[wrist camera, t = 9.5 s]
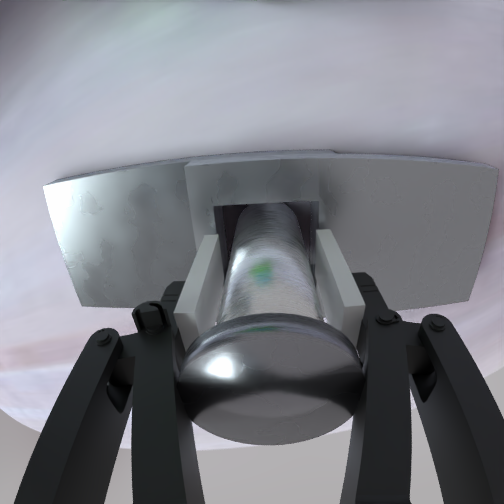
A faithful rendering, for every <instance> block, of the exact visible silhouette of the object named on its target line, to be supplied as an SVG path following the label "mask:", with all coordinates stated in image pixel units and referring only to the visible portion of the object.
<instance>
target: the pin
mask: <svg viewBox="0 0 504 504" xmlns="http://www.w3.org/2000/svg"><path fill="white" fill-rule="evenodd" d="M364 384H365V377H364V373H363V370H362V366H361V363H360V360H359V356H358V353H357V351H356V349H355V347H354V345H353V343H352V342H351V341H350V340H349V338H348V337H347V336H346V335H344V334H343V333H342V332H341V331H339V330H338V329H336V328H335V327H333V326H331V325H329V324H327V323H325V322H324V320H323V315H322V311H321V307H320V303H319V299H318V295H317V291H316V287H315V283H314V279H313V275H312V271H311V267H310V264H309V260H308V256H307V252H306V249H305V245H304V241H303V238H302V234H301V230H300V227H299V223H298V220H297V217H296V215H295V213H294V212H293V211H292V210H291V209H290V208H289V207H288V206H287V205H285V204H284V203H282V202H276V203H256V204H250V205H249V206H247V207H246V208H245V209H244V210H243V211H242V213H241V214H240V216H239V218H238V221H237V225H236V230H235V235H234V240H233V245H232V249H231V254H230V259H229V264H228V269H227V274H226V279H225V284H224V289H223V294H222V299H221V304H220V309H219V314H218V319H217V325H215V326H213V327H212V328H210V329H208V330H206V331H205V332H204V333H202V334H201V335H200V336H198V337H197V338H196V339H195V340H194V341H193V343H192V344H191V345H190V346H189V348H188V350H187V351H186V354H185V356H184V359H183V362H182V366H181V370H180V374H179V377H178V381H177V386H176V387H177V390H178V392H179V395H180V397H181V399H182V402H183V404H184V406H185V409H186V411H187V413H188V416H189V418H190V420H191V421H192V422H194V423H195V424H196V425H198V426H199V427H201V428H202V429H204V430H206V431H208V432H210V433H212V434H214V435H216V436H219V437H222V438H224V439H228V440H231V441H235V442H240V443H246V444H253V445H283V444H291V443H297V442H301V441H306V440H310V439H313V438H316V437H319V436H321V435H324V434H326V433H328V432H330V431H332V430H334V429H336V428H338V427H339V426H341V425H342V424H344V423H345V422H346V421H347V420H349V419H350V418H351V417H352V416H353V415H354V414H355V411H356V408H357V405H358V402H359V400H360V397H361V394H362V390H363V387H364Z"/></svg>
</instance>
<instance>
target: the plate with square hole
mask: <svg viewBox="0 0 504 504" xmlns="http://www.w3.org/2000/svg"><path fill="white" fill-rule="evenodd" d="M498 171H499V169H497V168H495V167H492V166H490V165H488V164H485V163H477V162H470V161H461V160H452V159H442V158H431V157H418V156H402V155H382V154H336V153H335V152H333V151H332V150H282V151H261V152H244V153H231V154H219V155H208V156H198V157H189V158H180V159H172V160H165V161H157V162H150V163H143V164H137V165H131V166H125V167H119V168H113V169H107V170H102V171H97V172H92V173H87V174H82V175H77V176H72V177H68V178H63V179H59V180H55V181H53V182H51V183H49V184H47V185H45V186H43V188H44V192H45V196H46V200H47V204H48V208H49V212H50V216H51V219H52V223H53V226H54V230H55V233H56V236H57V239H58V243H59V246H60V249H61V252H62V255H63V258H64V261H65V264H66V266H67V269H68V272H69V275H70V277H71V280H72V283H73V285H74V288H75V290H76V293H77V295H78V298H79V300H80V303H81V305H82V306H85V307H112V308H136V307H137V306H138V305H140V304H142V303H144V302H147V301H160V300H161V298H162V296H163V293H164V291H165V289H166V287H167V286H169V285H170V284H171V283H172V282H173V281H186V279H187V277H188V274H189V272H190V269H191V267H192V264H193V262H194V259H195V257H196V255H197V252H198V250H199V247H200V245H201V242H202V240H203V238H204V235H216V234H219V242H220V250H221V257H222V265H223V272H224V282H223V287H222V292H221V297H220V302H219V307H218V312H217V317H216V322H217V319H218V314H219V309H220V304H221V299H222V294H223V289H224V284H225V279H226V274H227V269H228V264H229V261H228V252H227V244H226V235H225V227H224V218H223V209H222V206H223V205H238V204H256V203H276V202H300V201H311V232H310V267H311V271H312V275H313V279H314V283H315V287H316V291H317V295H318V299H319V303H320V307H321V311H322V315H323V318H325V317H326V315H325V311H324V307H323V303H322V299H321V295H320V292H319V288H318V284H317V280H316V277H315V257H316V230H321V229H330V230H331V232H332V234H333V236H334V238H335V240H336V242H337V244H338V246H339V248H340V250H341V252H342V254H343V256H344V259H345V261H346V263H347V265H348V267H349V269H350V271H351V273H356V272H365V273H367V274H368V275H369V276H371V277H372V278H373V280H374V282H375V284H376V286H377V287H378V289H379V291H380V293H381V295H382V297H383V299H384V301H385V303H386V305H387V307H388V309H391V310H393V311H400V310H408V309H416V308H424V307H431V306H438V305H445V304H452V303H458V302H465V301H468V300H469V297H470V294H471V291H472V288H473V285H474V282H475V279H476V276H477V273H478V269H479V266H480V262H481V259H482V255H483V251H484V247H485V243H486V239H487V235H488V230H489V226H490V221H491V216H492V211H493V205H494V199H495V193H496V186H497V179H498Z"/></svg>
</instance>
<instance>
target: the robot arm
mask: <svg viewBox="0 0 504 504" xmlns="http://www.w3.org/2000/svg"><path fill="white" fill-rule="evenodd" d="M315 277H316V280H317V284H318V288H319V292H320V295H321V299H322V303H323V307H324V311H325V315H326V319H327V323H328V324H329V325H331V326H333V327H335V328H336V329H338V330H339V331H341V332H342V333H343V334H344V335H346V336H347V337H348V338H349V340H350V341H351V342H352V343H353V345H354V347H355V349H356V351H358V354H359V360H360V363H361V366H362V370H363V373H364V377H365V384H364V387H363V390H362V394H361V397H360V400H359V402H358V405H357V408H356V411H355V414H354V415H353V423H352V431H351V439H350V446H349V453H348V460H347V466H346V473H345V478H344V483H343V489H342V494H341V499H340V504H411V502H410V481H411V454H412V434H411V433H412V431H411V401H410V389H411V392H412V394H413V397H414V400H415V403H416V406H417V409H418V412H419V415H420V418H421V421H422V424H423V427H424V431H425V434H426V437H427V440H428V443H429V447H430V451H431V454H432V458H433V461H434V465H435V469H436V472H437V476H438V480H439V484H440V488H441V492H442V497H443V501H444V504H504V419H503V416H502V414H501V412H500V410H499V408H498V406H497V404H496V402H495V400H494V398H493V396H492V394H491V392H490V390H489V388H488V386H487V384H486V382H485V380H484V378H483V376H482V374H481V372H480V370H479V369H478V367H477V365H476V363H475V361H474V360H473V358H472V356H471V354H470V353H469V351H468V349H467V348H466V346H465V344H464V342H463V341H462V339H461V337H460V336H459V334H458V333H457V331H456V329H455V328H454V326H453V324H452V323H451V322H450V321H449V320H448V319H447V318H446V317H444V316H442V315H439V314H429V315H426V316H425V317H424V318H423V319H422V323H412V322H406V321H402V319H401V316H400V315H399V314H398V313H397V312H395V311H393V310H391V309H388V307H387V305H386V303H385V301H384V299H383V297H382V295H381V293H380V291H379V289H378V287H377V286H376V284H375V282H374V280H373V278H372V277H371V276H369V275H368V274H367V273H365V272H356V273H351V271H350V269H349V267H348V265H347V263H346V261H345V259H344V256H343V254H342V252H341V250H340V248H339V246H338V244H337V242H336V240H335V238H334V236H333V234H332V232H331V230H330V229H321V230H316V257H315ZM223 282H224V272H223V265H222V257H221V250H220V242H219V234H216V235H204V238H203V240H202V242H201V245H200V247H199V250H198V252H197V255H196V257H195V259H194V262H193V264H192V267H191V269H190V272H189V274H188V277H187V279H186V281H173V282H172V283H171V284H170V285H169V286H167V287H166V289H165V291H164V293H163V296H162V298H161V300H160V301H147V302H144V303H142V304H140V305H138V306H137V307H136V308H135V309H134V310H133V312H132V317H133V319H134V322H135V325H136V327H137V330H138V333H134V334H130V335H125V336H119V334H118V332H117V331H116V330H115V329H112V328H104V329H101V330H98V331H97V332H95V333H94V334H93V335H92V336H91V337H90V338H89V340H88V342H87V343H86V345H85V347H84V349H83V351H82V352H81V354H80V356H79V358H78V360H77V362H76V363H75V365H74V367H73V369H72V371H71V373H70V375H69V377H68V378H67V380H66V382H65V384H64V386H63V388H62V390H61V392H60V394H59V396H58V398H57V400H56V402H55V404H54V406H53V409H52V411H51V413H50V415H49V417H48V419H47V421H46V423H45V426H44V428H43V430H42V432H41V435H40V437H39V439H38V441H37V444H36V446H35V449H34V451H33V453H32V456H31V458H30V461H29V463H28V466H27V468H26V471H25V474H24V476H23V479H22V482H21V484H20V487H19V490H18V493H17V496H16V499H15V502H14V504H104V502H105V498H106V494H107V490H108V486H109V483H110V479H111V475H112V472H113V468H114V464H115V461H116V457H117V454H118V450H119V447H120V444H121V440H122V437H123V434H124V430H125V427H126V424H127V421H128V417H129V414H130V411H131V408H132V438H131V451H132V452H131V453H132V454H131V455H132V488H133V489H132V490H133V504H205V501H204V495H203V490H202V485H201V479H200V473H199V467H198V461H197V455H196V448H195V441H194V434H193V427H192V421H191V420H190V418H189V416H188V413H187V411H186V409H185V406H184V404H183V402H182V399H181V397H180V395H179V392H178V390H177V387H176V386H177V381H178V377H179V374H180V370H181V366H182V362H183V359H184V356H185V354H186V351H187V350H188V348H189V346H190V345H191V344H192V343H193V341H194V340H195V339H196V338H197V337H198V336H200V335H201V334H202V333H204V332H205V331H206V330H208V329H210V328H212V327H213V326H215V322H216V317H217V312H218V307H219V302H220V297H221V292H222V287H223Z"/></svg>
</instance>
